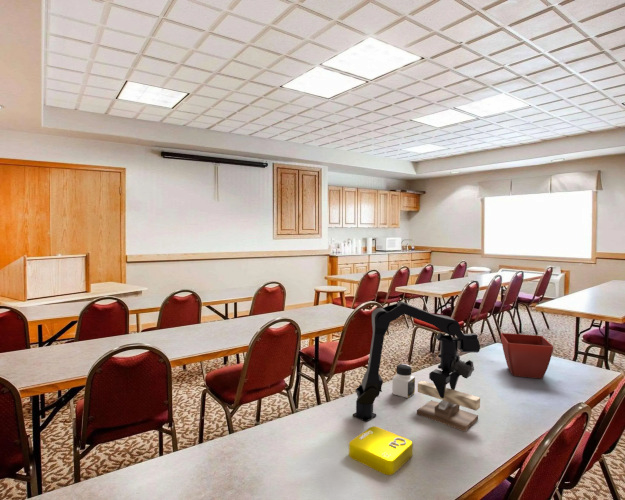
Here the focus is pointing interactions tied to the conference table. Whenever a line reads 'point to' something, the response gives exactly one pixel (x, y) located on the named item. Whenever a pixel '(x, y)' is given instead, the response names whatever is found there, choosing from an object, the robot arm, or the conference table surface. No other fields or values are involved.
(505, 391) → the conference table surface
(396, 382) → the medicine bottle
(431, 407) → the balance stand
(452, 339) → the robot arm
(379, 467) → the element tile
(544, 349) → the plant pot
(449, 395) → the beech stick
